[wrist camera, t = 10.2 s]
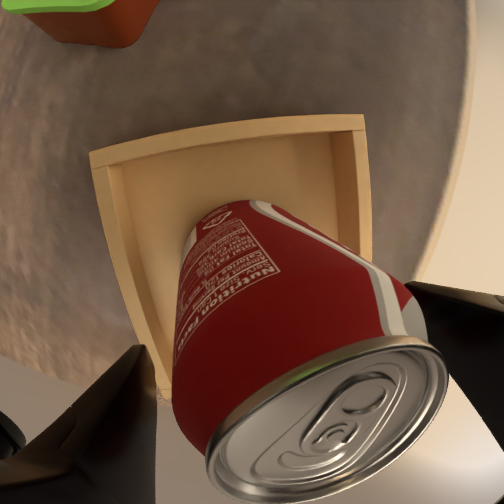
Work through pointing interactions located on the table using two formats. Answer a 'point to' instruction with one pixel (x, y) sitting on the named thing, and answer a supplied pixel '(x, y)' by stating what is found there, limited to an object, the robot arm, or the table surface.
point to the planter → (87, 19)
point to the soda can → (295, 358)
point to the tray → (222, 200)
